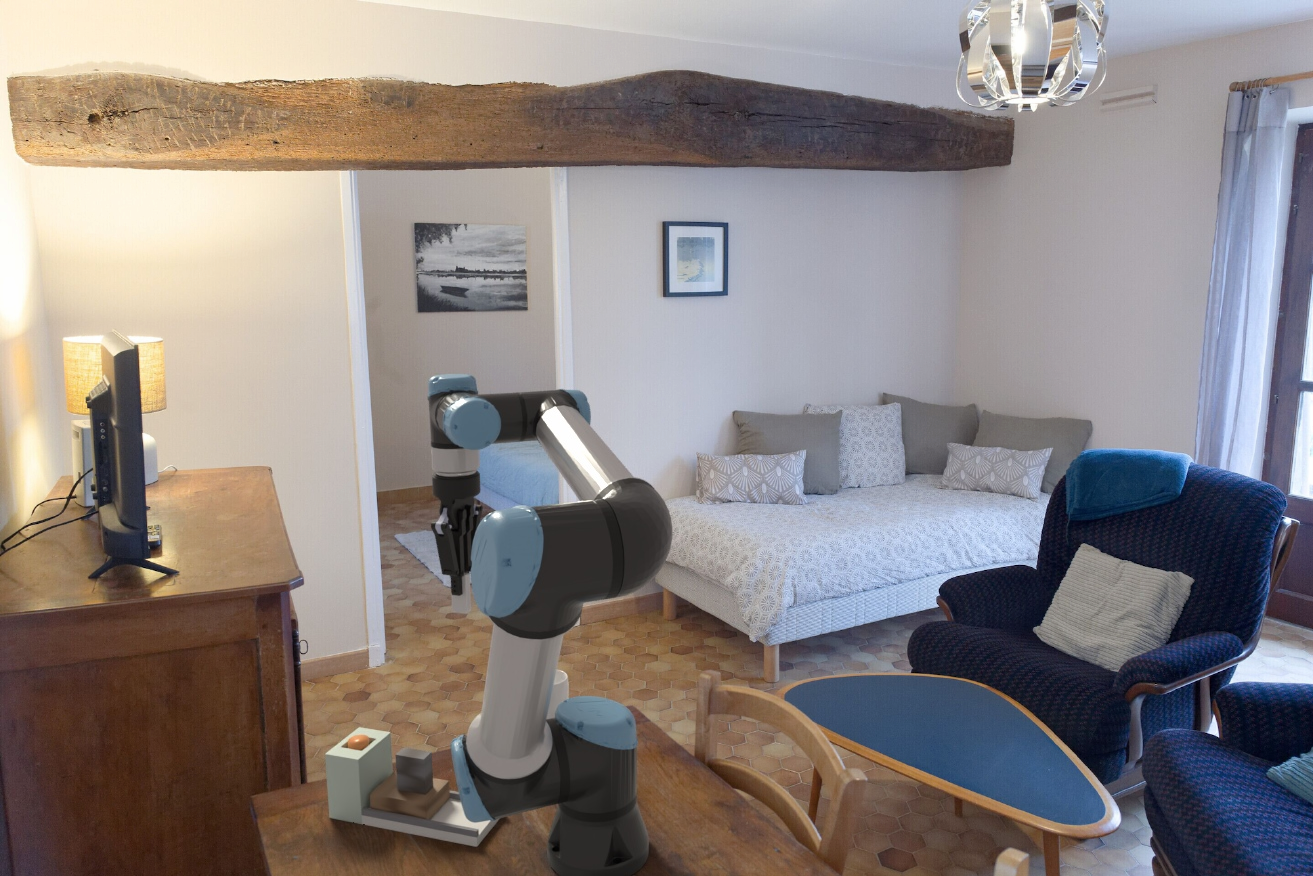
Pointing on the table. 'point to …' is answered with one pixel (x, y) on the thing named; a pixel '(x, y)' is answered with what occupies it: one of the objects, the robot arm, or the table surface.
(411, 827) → the track
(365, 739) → the button
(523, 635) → the robot arm
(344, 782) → the end cabinet
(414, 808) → the carriage
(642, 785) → the table surface
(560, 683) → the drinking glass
